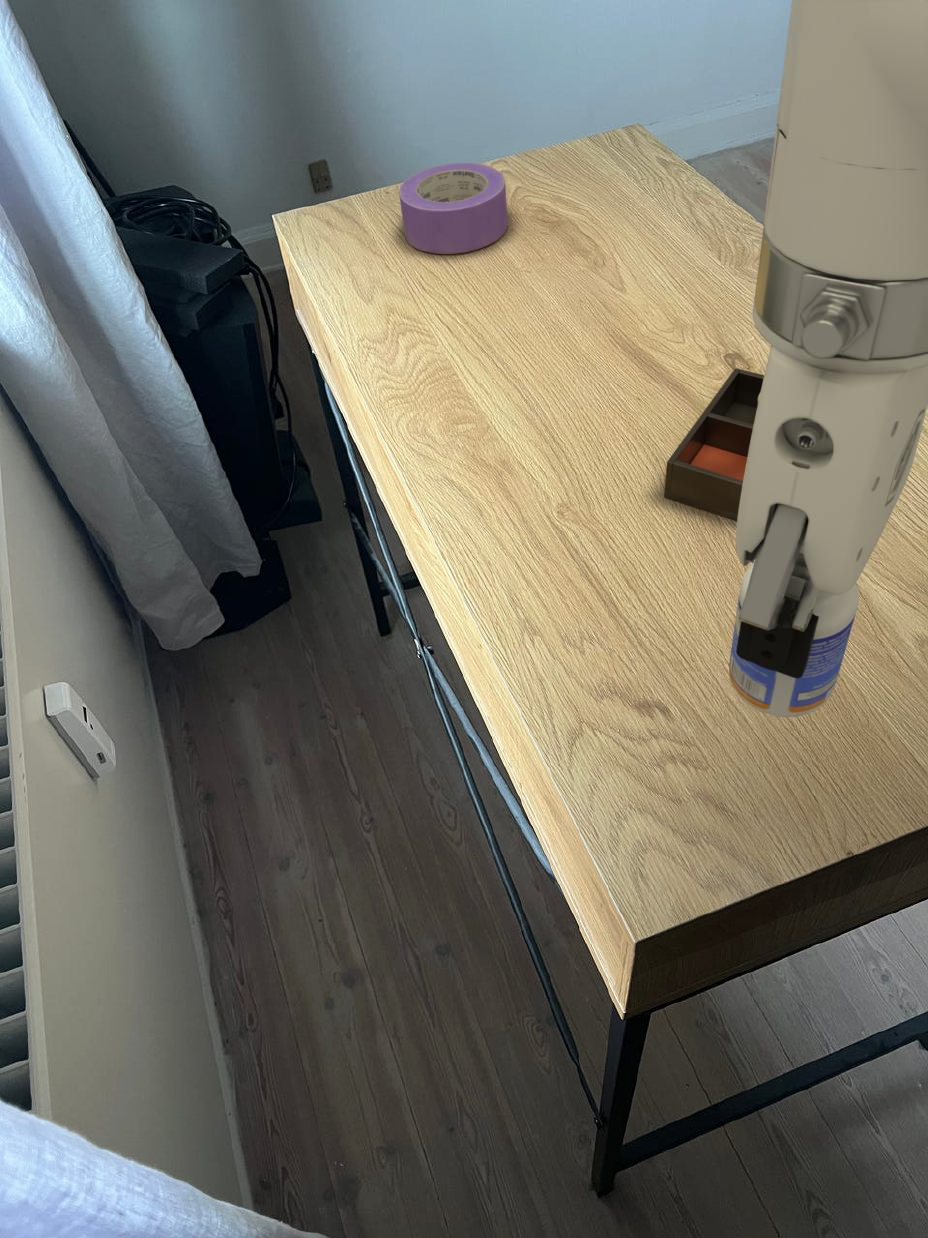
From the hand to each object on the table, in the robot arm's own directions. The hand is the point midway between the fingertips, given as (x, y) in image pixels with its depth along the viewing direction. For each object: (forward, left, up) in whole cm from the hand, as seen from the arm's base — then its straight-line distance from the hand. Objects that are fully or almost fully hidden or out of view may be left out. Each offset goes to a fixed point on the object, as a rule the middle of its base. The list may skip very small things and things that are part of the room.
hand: (793, 618), depth 46 cm
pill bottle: (0, 0, -5) cm, 5 cm away
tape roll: (+55, -51, -15) cm, 76 cm away
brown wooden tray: (+12, -27, -14) cm, 33 cm away
